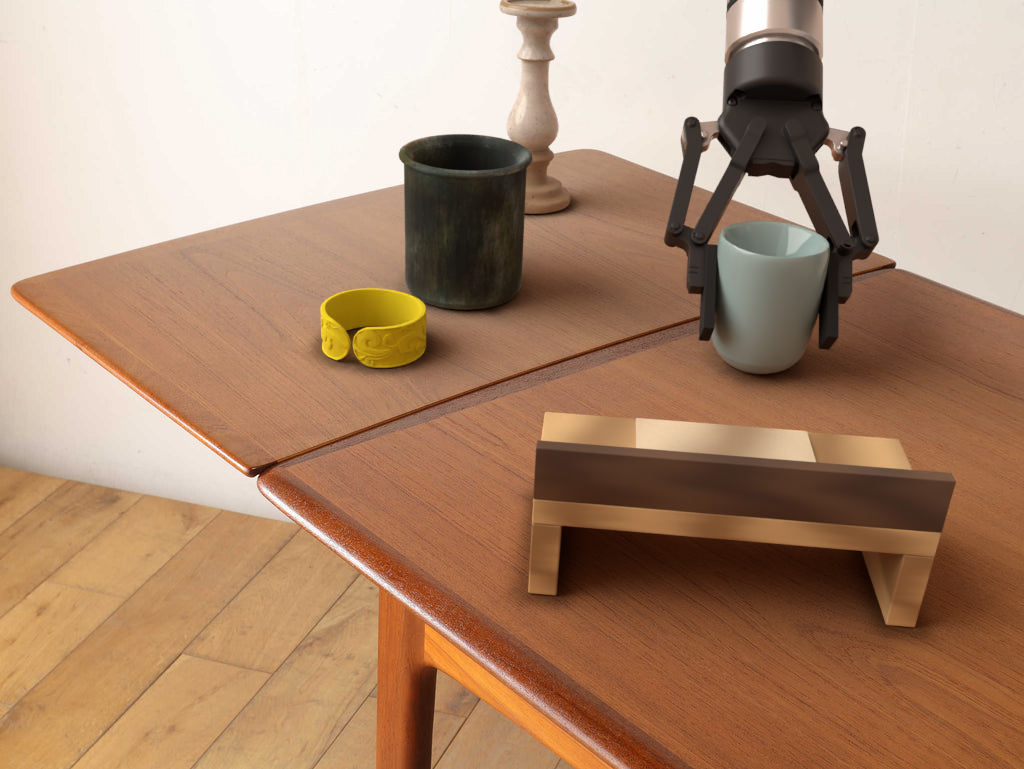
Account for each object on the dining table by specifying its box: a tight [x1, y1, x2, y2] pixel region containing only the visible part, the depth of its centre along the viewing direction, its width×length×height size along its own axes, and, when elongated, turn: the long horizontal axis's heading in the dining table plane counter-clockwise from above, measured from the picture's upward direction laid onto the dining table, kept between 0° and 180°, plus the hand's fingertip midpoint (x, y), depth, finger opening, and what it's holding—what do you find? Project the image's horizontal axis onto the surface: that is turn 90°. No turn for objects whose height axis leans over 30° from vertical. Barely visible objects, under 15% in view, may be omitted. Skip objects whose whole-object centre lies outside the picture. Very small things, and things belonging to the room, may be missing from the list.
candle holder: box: [498, 0, 578, 215], centre depth 108 cm, size 9×9×20 cm
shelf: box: [527, 411, 957, 628], centre depth 57 cm, size 20×9×9 cm, turn 85°
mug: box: [398, 133, 532, 311], centre depth 90 cm, size 11×15×12 cm
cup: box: [710, 220, 830, 375], centre depth 78 cm, size 8×8×10 cm
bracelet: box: [319, 287, 427, 369], centre depth 80 cm, size 7×8×3 cm
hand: (767, 338), depth 76 cm, fingers closed on cup, 8 cm apart
